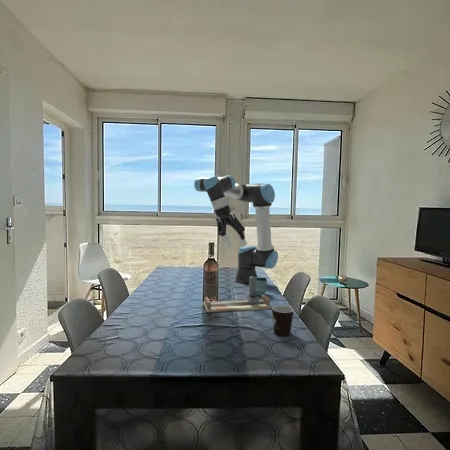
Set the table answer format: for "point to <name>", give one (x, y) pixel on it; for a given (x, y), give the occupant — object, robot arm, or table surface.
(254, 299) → the carriage
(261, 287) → the flower pot
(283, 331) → the coffee mug
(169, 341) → the table surface
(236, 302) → the rail
